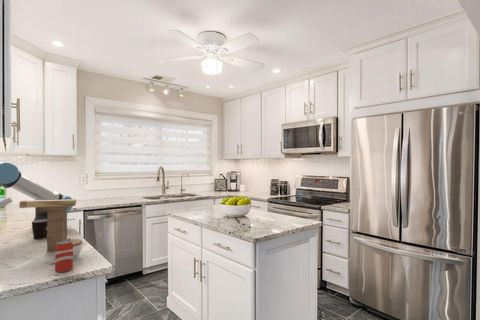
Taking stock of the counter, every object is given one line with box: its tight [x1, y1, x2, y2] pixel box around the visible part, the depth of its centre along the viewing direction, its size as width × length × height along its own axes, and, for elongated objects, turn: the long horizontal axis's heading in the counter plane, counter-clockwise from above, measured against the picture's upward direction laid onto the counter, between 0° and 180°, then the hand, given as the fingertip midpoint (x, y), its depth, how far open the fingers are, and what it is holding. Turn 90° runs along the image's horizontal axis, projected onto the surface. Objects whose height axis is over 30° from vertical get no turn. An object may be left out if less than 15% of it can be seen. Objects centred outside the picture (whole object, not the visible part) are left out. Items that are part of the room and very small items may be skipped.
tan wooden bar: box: [18, 198, 77, 209], centre depth 146 cm, size 4×24×3 cm, turn 108°
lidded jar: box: [56, 237, 83, 260], centre depth 133 cm, size 11×11×9 cm
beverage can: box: [54, 239, 74, 273], centre depth 119 cm, size 6×6×12 cm
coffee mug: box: [31, 219, 47, 240], centre depth 170 cm, size 12×9×10 cm
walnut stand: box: [39, 206, 69, 253], centre depth 146 cm, size 9×11×22 cm
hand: (4, 201), depth 140 cm, fingers open, 13 cm apart
